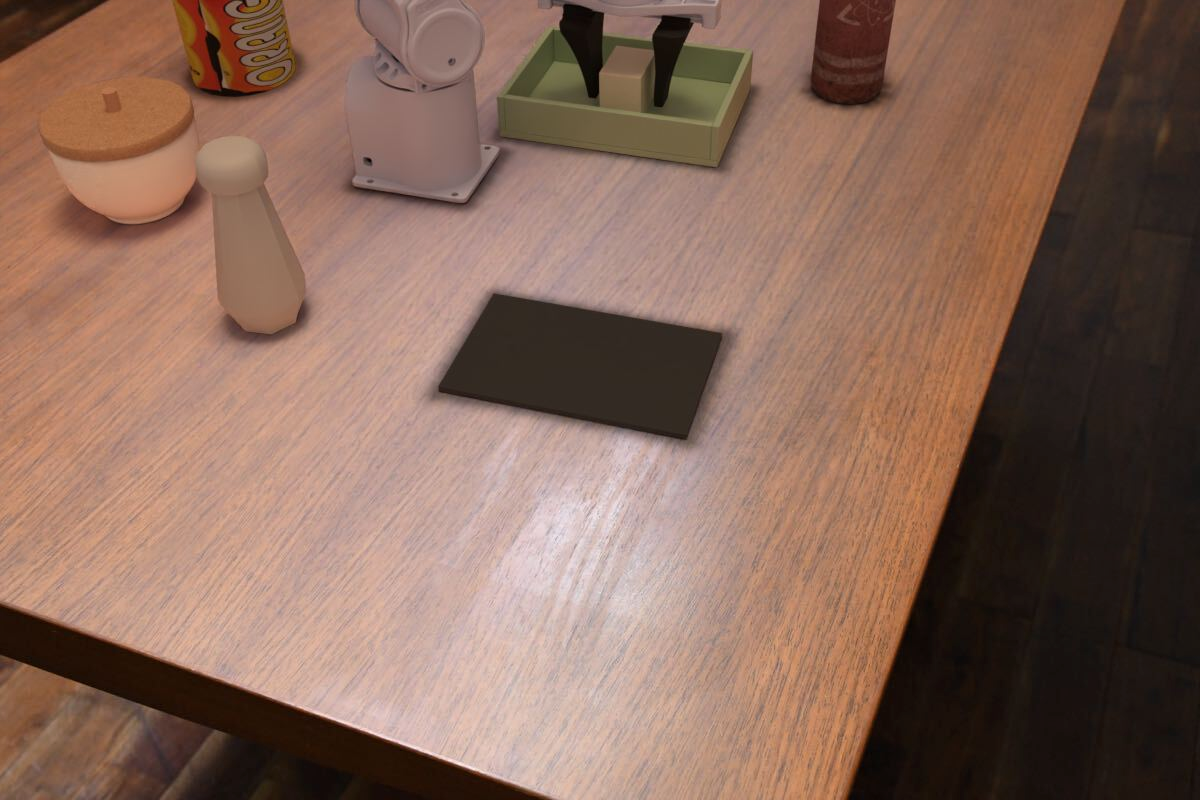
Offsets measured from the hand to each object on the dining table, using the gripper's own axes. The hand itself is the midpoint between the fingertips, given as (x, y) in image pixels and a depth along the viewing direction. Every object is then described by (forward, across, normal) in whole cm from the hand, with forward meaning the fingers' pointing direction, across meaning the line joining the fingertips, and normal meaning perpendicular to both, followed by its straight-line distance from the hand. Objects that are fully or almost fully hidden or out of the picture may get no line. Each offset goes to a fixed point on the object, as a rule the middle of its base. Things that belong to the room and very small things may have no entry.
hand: (628, 97), depth 101 cm
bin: (+1, 0, 0) cm, 1 cm away
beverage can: (+2, +35, +2) cm, 35 cm away
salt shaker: (+2, +16, +33) cm, 37 cm away
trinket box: (+2, +32, +23) cm, 39 cm away
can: (+2, -17, -9) cm, 19 cm away
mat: (+1, -6, +32) cm, 33 cm away
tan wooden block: (+1, 0, 0) cm, 1 cm away
